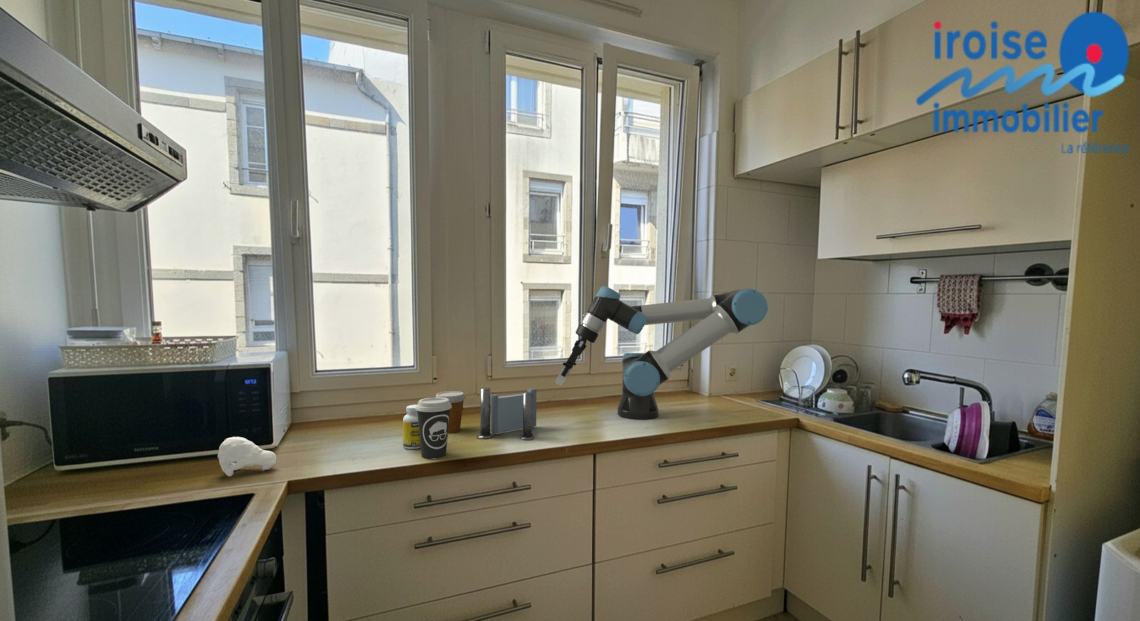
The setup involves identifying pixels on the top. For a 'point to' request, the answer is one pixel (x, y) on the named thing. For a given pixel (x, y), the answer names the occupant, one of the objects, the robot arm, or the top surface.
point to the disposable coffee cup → (454, 408)
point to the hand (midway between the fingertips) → (559, 381)
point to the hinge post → (485, 415)
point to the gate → (509, 412)
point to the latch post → (527, 416)
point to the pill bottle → (411, 429)
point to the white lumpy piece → (243, 455)
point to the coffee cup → (433, 426)
